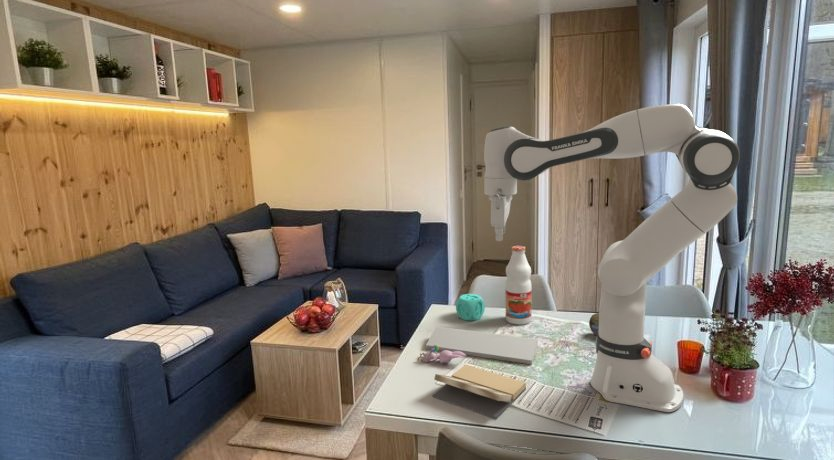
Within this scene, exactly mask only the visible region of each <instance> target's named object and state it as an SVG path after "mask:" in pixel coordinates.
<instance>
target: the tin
mask: <svg viewBox="0 0 834 460" xmlns="http://www.w3.org/2000/svg"><path fill="white" fill-rule="evenodd" d="M588 323H589V324H588V325H589V328H590V331H591V333H593V335H595V336H596V337H597V334H598V333H599V312H597V313H594V314H592V315H591V316H590V318H589V321H588Z"/></svg>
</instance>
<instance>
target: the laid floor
mask: <svg viewBox="0 0 834 460" xmlns="http://www.w3.org/2000/svg"><path fill="white" fill-rule="evenodd" d="M451 377H454V378H457V379H460V380H464V381H467V382H470V383H473V384H476V385H479V386H483V387H486V388H489V389H492V390H495V391H498V392H502V393H505V394H508V395H511V396H512V397H511V402H508V401H497V400H494V399H491V398H488V397H485V396H482V395H479V394H476V393H473V392H470V391H467V390H464V389H461V388H458V387H455V386H452V385H449V384H445V385H443V386H442V387H441V388H439V389H438V390H437V391H436V392H434V393H433V394H432V397H433V398H434V399H435V398H436V399H439V400H441V401H444V402H446V403H449V404H452V405H455V406H458V407H461V408H463V409H465V410H466V409H467V410H470V411H472V412H476V413H478V414H481V415H483V416H486V417H489V418H492V419H495V420H498V418H499V417H500V416H501V415H503V413H504V412H505V411H506V410H508V408H509V407H510V406H512V404H513V403H514V402H515V401H516V400H517V399H518V398H519V397H520V396H521V395H522V394H523V393H524V392H525V391H526V390H527V387H526V386H527V385H526V382H525V381H523V380H519V379H515V378H512V377H508V376H504V375H501V374H497V373H494V372H491V371H487V370H484V369H481V368H478V367H474V366H471V365H468V364H464V365H463V366H461V367H460V368H459V369H457V371H455V372H454V373H452V374H451Z"/></svg>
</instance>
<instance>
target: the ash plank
mask: <svg viewBox="0 0 834 460" xmlns="http://www.w3.org/2000/svg"><path fill="white" fill-rule="evenodd" d="M433 378H434V381H437V382H440V383H443V384H445V385H446V384H449V385H452V386H455V387H458V388H461V389H464V390H467V391H470V392H473V393H476V394H479V395H482V396H485V397H488V398H491V399H494V400H497V401H508V402H511V397H512V396H511V395H508V394H505V393H502V392H498V391H495V390H492V389H489V388H486V387H483V386H479V385H476V384H473V383H470V382H467V381H464V380H460V379H457V378H454V377H452V375H445V374H435V376H434V377H433Z"/></svg>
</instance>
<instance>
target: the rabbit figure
mask: <svg viewBox="0 0 834 460" xmlns="http://www.w3.org/2000/svg"><path fill="white" fill-rule="evenodd" d="M434 347H435V348H434V349H430V350H429V351H427V352H426V353H425V352H422V353H421V352H420V353H419V356H418V357H417V362H420V359H421V361H423V363H428V362H436V361H438V360H439V362H440V363H441V364H446V363H450V362H451V361H452V360H453V359H457V358H461V359H465V358H466V356H467V355H466V354H464V353H463V352H460V351H454V352H451V351H449V350H444V351H441V352H440V353H438V351H439V350H438V349H439V347H438V346H437V345H434ZM433 353H434V354H433Z"/></svg>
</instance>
